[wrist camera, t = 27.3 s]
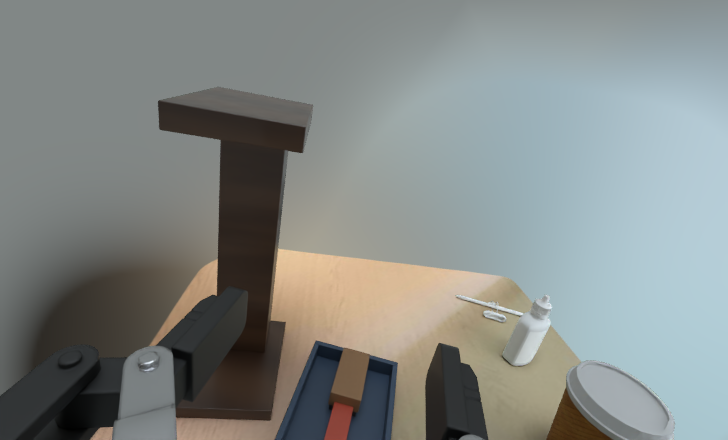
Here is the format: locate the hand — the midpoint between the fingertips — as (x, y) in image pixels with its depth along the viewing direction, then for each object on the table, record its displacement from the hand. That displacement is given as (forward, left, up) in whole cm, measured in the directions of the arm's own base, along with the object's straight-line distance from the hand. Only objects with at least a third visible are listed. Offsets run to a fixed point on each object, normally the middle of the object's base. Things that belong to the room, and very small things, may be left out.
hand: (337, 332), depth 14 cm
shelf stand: (-21, +10, -27) cm, 35 cm away
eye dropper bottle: (+5, +43, -27) cm, 51 cm away
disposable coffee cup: (+15, +30, -27) cm, 43 cm away
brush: (-6, +13, -26) cm, 30 cm away
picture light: (-2, +51, -27) cm, 58 cm away
